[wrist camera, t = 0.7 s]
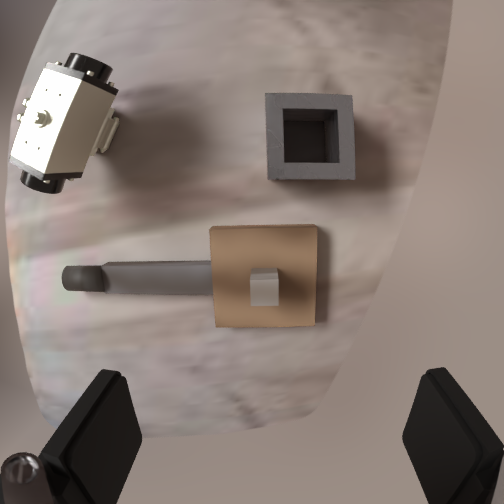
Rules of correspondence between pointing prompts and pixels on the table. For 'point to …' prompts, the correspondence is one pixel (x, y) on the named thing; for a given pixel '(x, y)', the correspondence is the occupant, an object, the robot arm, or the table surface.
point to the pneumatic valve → (64, 123)
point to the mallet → (227, 276)
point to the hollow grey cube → (336, 134)
